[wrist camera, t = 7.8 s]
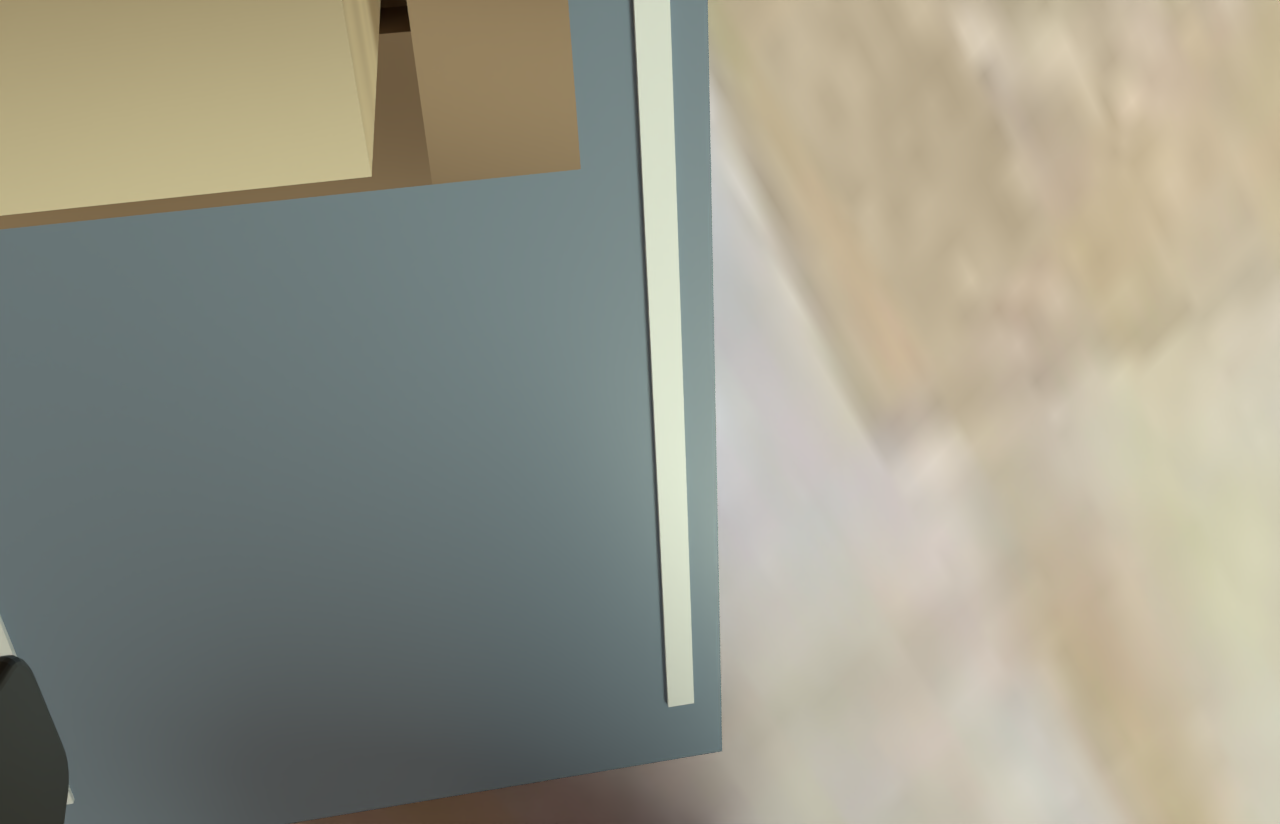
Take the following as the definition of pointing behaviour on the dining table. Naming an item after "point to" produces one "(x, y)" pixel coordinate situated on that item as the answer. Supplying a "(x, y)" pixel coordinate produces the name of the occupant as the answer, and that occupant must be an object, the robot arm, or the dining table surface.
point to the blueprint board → (378, 472)
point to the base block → (436, 106)
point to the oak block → (181, 97)
